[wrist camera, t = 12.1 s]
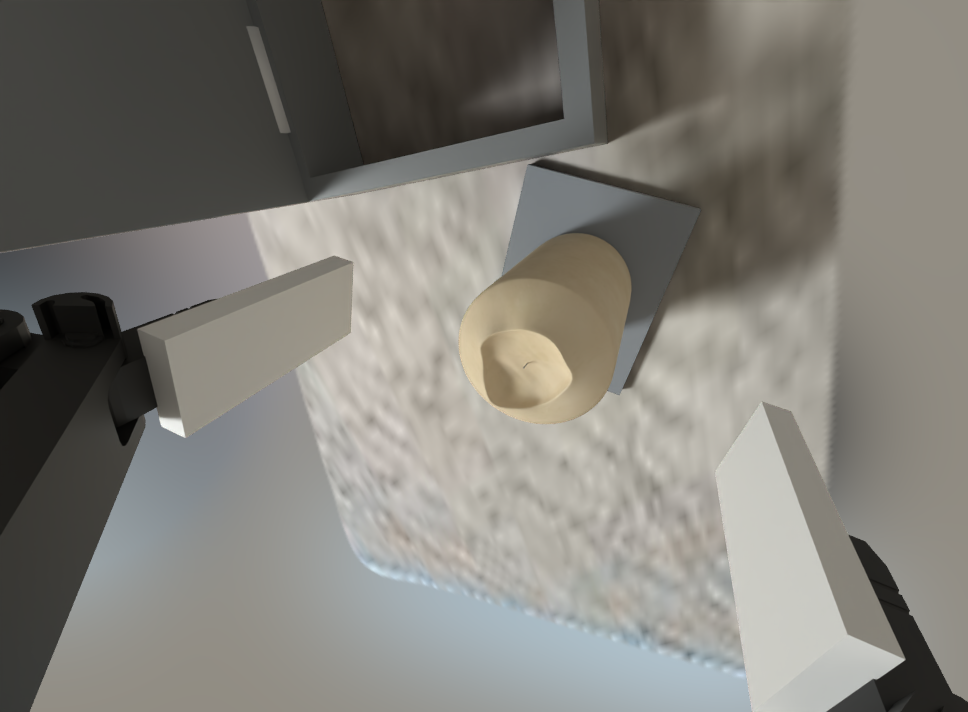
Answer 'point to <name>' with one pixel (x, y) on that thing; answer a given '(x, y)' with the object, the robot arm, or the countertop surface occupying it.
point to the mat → (607, 239)
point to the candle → (549, 330)
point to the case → (216, 114)
